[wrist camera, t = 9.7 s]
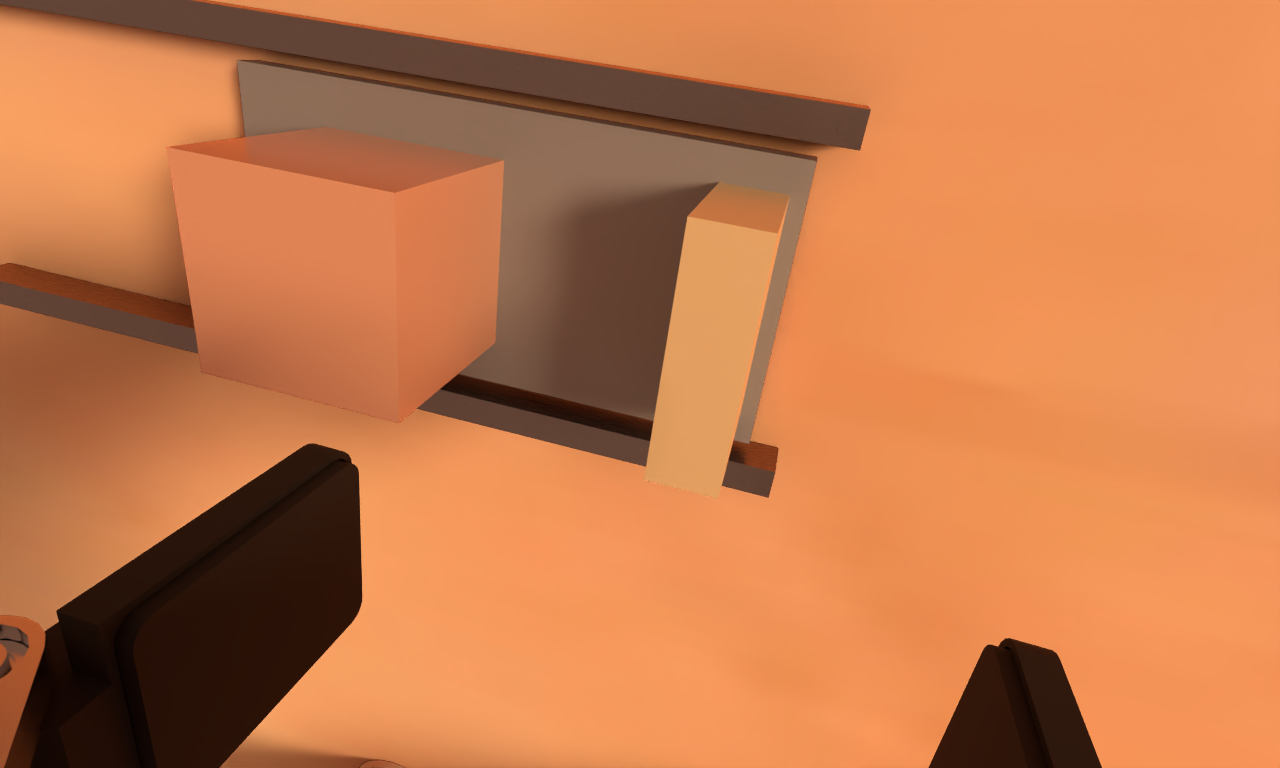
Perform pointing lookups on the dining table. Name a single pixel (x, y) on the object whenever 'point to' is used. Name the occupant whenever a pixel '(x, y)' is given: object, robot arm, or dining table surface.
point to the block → (339, 263)
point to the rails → (186, 10)
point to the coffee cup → (380, 764)
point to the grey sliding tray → (602, 252)
